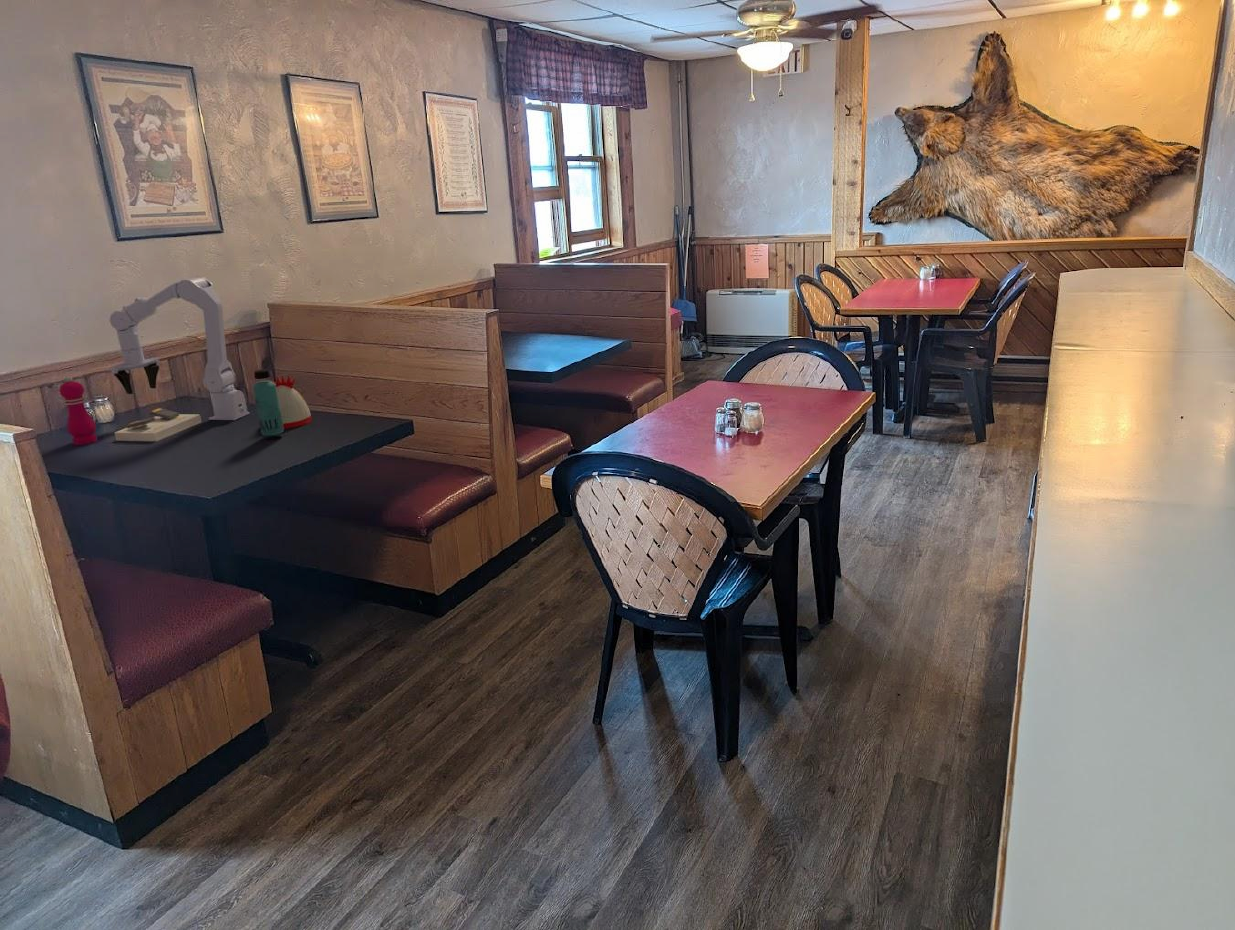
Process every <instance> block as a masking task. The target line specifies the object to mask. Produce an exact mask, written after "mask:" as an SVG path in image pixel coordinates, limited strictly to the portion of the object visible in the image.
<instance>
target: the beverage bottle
mask: <svg viewBox="0 0 1235 930" xmlns="http://www.w3.org/2000/svg"><path fill="white" fill-rule="evenodd" d="M253 373H254V374H253V375H254V379H255V380H260V381H257V382H255V383H253V385H252V390H253V396H254V397H253V398H254V402H255V403H254V405H255V407H256V411H257V413H256V414H257V417H258V424H259V425H258V426H259V427H260V433H261V434H262V435H263V436H275V435H279V434H282V433H284V430H285V429H284V427H283V426H284V425H283V422H282V415H281V410H280V406H279V401H278V395H277V390H276V384H275V383H276V382H275V381H274V382H275V383H274V382H272V381H271V380H269V379H267V378H271V373H270V370H269V369H265V368H263V369H257V370H255V371H254V372H253ZM263 379H267V380H263Z"/></svg>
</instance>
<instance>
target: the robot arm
mask: <svg viewBox="0 0 1235 930" xmlns="http://www.w3.org/2000/svg"><path fill="white" fill-rule="evenodd" d="M173 299H182V300H184V301H186V302H189V303H190V304H193V305H195V306H196V307H198V308H199V309H200V310H202V312H203V321H204V329H205V330H204V331H205V344H206V351H207V352H206V353H207V354H206V355H207V363H206V365H205V369H204V372H205V373H204V376H203V379H202V381H203V385H204V387H205V389H207V390H208V391H209V395H210V401H211V405H212V409H213V415H214V416H211V417H209V418H208V420H209V421H211V420H212V421H215V420H216V421H236V420H238V419H240V418H242V417H245V416H248V415H249V414H250V412H249V411H248V407H247V403H246V398H245V394H244V392H243V391H242V390H237V389H236V388H235V387H234V383H235V381H236V373H235V371H234V370H233V367H232V363H231V362H230V361H229V360H228V357H227V347H226V336H225V334H226V333H225V323H224V312H223V304H222V301H221V299H220V297H219V296H218V294H217V293H216V291H215V290H214V284H213V283H212V282H211V281H210V280H208V279H207V278H205V277H203V276H200V275H199V276H195V277H192V278H188V279H182V280H180V281H179V282H175V283H172V284H170V285H169V286H167V287H166V288H163V289H162V290H160V291H159V292H157V293H156V294H154V295H153V296H151V297H150V298H147V297H139V296H138V297H136V298H135V299H134V302H132V303H130V304H129V305H127V304H126V305H124V306H122V310H115V311H113V312H112V313H111V314H110V316H109V322H110V325H111V326H112V328H113V329H115V331H116V335H117V339H118V343H119V346H120V350H121V355H122V358H123V363H121V364H117V365H113V366H110V373H111V374H113V376H114V377H115V378H116V379H117V380H118V382H120V384H121V385H122V386H123V389H124V390H125V392H126V394H128V395H133V389H132V384H131V373H130V372H127V371H131V370H136V369H140V368H143V371H145V374H146V376H147V380H148V381H147V382H148V385H149V388H150V389H156V388H157V376H158V373H159V371H160V364H161V363H160V358H158V357H151V358H145V356H144V355H145V354H144V352H143V351H144V350H143V347H142V343H141V339H140V335H139V328H138V325H139V324H140V323H141V322H143V321H145V320H146V319H149V318H150V317H152V316H153V315H155V314H156V312H157V308H158V307H160V306H162V305H164V304H166V303H167V302H170V301H172V300H173Z"/></svg>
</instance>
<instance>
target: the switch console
mask: <svg viewBox="0 0 1235 930" xmlns="http://www.w3.org/2000/svg"><path fill="white" fill-rule="evenodd" d="M153 417H154V418H155V421H153V422H150V423H148V424H145V425H140V426H136V427H132V428H127V427H125V428H123V429H119V430H118V431H115V432H114V437H115V440H116V441H120V442H122V441H123V442H158V441H161V440H164V439H165V438H169V437H171V436H172V435H176V434H178V433H180V432H182V431H184V430H187V429H188V428H189V429H190V428H191V427H193V426H196V425H199V424H201V423H202V417H201V414H194V413H193V414H192V413H191V414H189V413H188V414H187V413H186V414H182V413H181V414H180V413H179V416H177V417H175V418H172V419H166V418H162V417H158V416H153Z"/></svg>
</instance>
